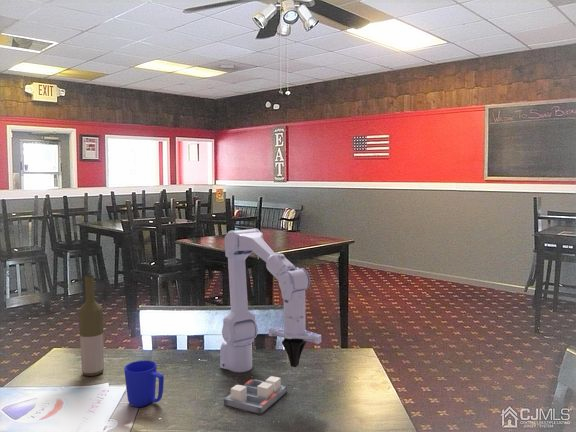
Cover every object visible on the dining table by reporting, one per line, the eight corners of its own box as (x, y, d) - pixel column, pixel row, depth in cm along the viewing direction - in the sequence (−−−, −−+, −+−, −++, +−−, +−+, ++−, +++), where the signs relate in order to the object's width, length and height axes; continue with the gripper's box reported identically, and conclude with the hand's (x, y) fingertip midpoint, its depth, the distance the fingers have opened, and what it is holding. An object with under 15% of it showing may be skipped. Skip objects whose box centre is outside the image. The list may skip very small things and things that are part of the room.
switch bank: (224, 408, 129) (224, 398, 128) (252, 387, 141) (252, 378, 141) (260, 417, 124) (260, 407, 123) (286, 395, 136) (286, 385, 136)
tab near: (230, 403, 129) (230, 388, 129) (237, 398, 132) (236, 384, 131) (240, 406, 128) (240, 391, 127) (246, 401, 130) (246, 386, 130)
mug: (150, 416, 124) (149, 378, 123) (118, 404, 131) (117, 368, 130) (174, 403, 131) (173, 367, 130) (142, 393, 138) (141, 358, 137)
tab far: (265, 394, 134) (265, 380, 134) (271, 390, 137) (271, 375, 137) (275, 396, 133) (275, 382, 133) (280, 392, 136) (280, 378, 135)
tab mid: (257, 401, 130) (257, 386, 130) (263, 396, 133) (263, 382, 133) (267, 403, 129) (267, 388, 129) (272, 398, 132) (272, 384, 131)
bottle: (84, 369, 154) (80, 274, 152) (107, 368, 155) (104, 273, 153) (77, 378, 147) (73, 279, 145) (102, 377, 148) (98, 278, 146)
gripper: (262, 315, 130) (263, 366, 131) (313, 323, 123) (313, 376, 124) (275, 309, 136) (276, 357, 137) (324, 315, 129) (324, 366, 131)
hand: (294, 365), depth 131 cm, fingers closed
